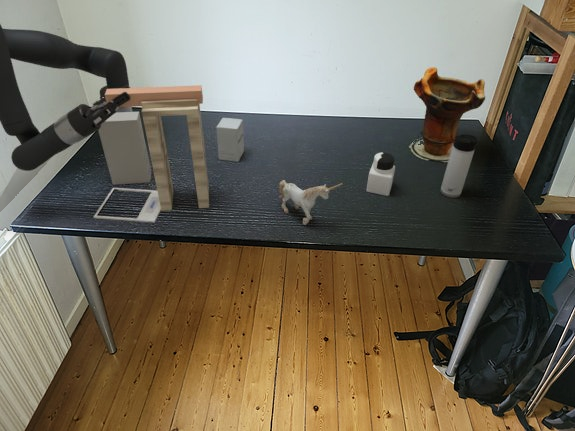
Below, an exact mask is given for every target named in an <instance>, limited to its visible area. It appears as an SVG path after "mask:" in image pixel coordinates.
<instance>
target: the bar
mask: <svg viewBox="0 0 575 431" xmlns="http://www.w3.org/2000/svg"><path fill="white" fill-rule="evenodd" d="M202 87H203V85H201V84H200V85H199V84H198V85H197V84H196V85H178V86H177V85H175V86H174V85H173V86H155V87H153V86H150V87H148V86H147V87H130V88H119V89H107V90H106V93H105V98H106V102H108V101H110V100H112V99H114V98H115V97H117V96H118V95H120V94H121V93H123V92H127V93H128V95H129V96H130V100H129V101H127V102H126V103H124V104H122V105H121V106H119V107H132V108H133V107H142V104H141V102H142V101H161V100H185V99H197V101H198V104H200V105H201V104H203V103H204V102H203V101H204V100H203V99H204V96H203V88H202Z"/></svg>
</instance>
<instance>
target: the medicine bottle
mask: <svg viewBox="0 0 575 431" xmlns="http://www.w3.org/2000/svg"><path fill="white" fill-rule="evenodd" d="M394 164H395V156H393V155H392V154H391V153H389V152H384V151H383V152H382V151H381V152H378V153H376V154H375V155H374V157H373V162H372V165H371V168H370V169H369V173H368V179H367V183H366V190H365V191H366V192H367V193H370V194H371V193H373V194H376V195H381V196H386V197H388V196H389V197H390V192H391V190H392V186H393V181H394V176H395V171H396V166H395V165H394Z"/></svg>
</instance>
